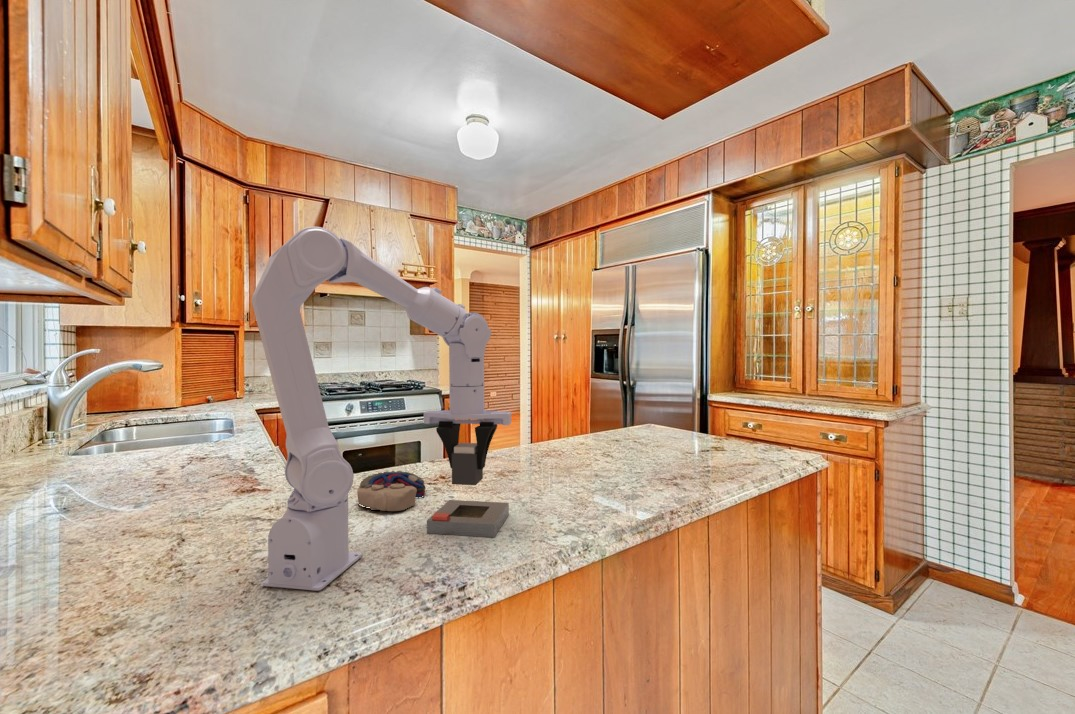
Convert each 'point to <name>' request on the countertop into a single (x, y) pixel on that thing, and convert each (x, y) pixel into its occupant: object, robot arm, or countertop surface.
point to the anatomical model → (390, 491)
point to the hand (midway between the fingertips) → (467, 467)
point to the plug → (465, 465)
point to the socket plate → (468, 518)
